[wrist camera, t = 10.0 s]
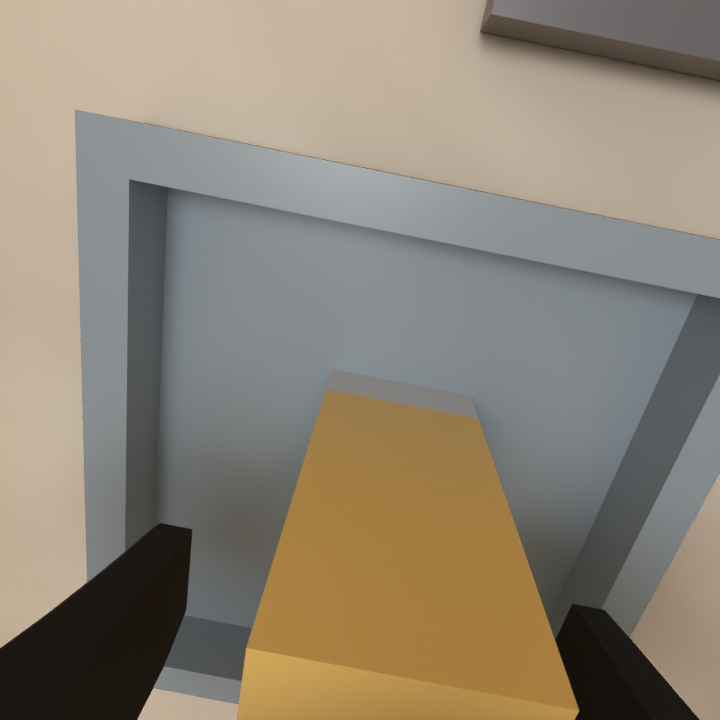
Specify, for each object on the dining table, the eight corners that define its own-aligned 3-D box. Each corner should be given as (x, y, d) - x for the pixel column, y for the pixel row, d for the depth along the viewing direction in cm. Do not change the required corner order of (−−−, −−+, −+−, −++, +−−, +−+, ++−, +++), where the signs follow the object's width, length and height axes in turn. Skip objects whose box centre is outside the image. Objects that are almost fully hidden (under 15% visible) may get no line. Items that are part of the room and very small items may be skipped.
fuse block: (470, 395, 12) (579, 710, 5) (424, 550, 14) (457, 942, 7) (331, 368, 12) (246, 648, 5) (304, 527, 14) (213, 896, 7)
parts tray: (742, 244, 11) (834, 263, 9) (535, 682, 17) (559, 765, 14) (141, 122, 11) (74, 109, 9) (132, 604, 17) (89, 675, 14)
